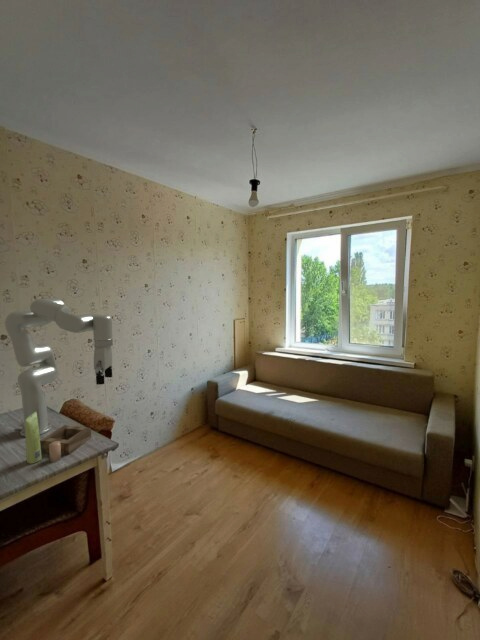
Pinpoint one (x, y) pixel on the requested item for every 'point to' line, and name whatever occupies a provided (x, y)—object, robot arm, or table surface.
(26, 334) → the robot arm
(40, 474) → the table surface
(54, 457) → the short stub
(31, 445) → the tube
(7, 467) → the table surface
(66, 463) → the table surface
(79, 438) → the square wooden frame
